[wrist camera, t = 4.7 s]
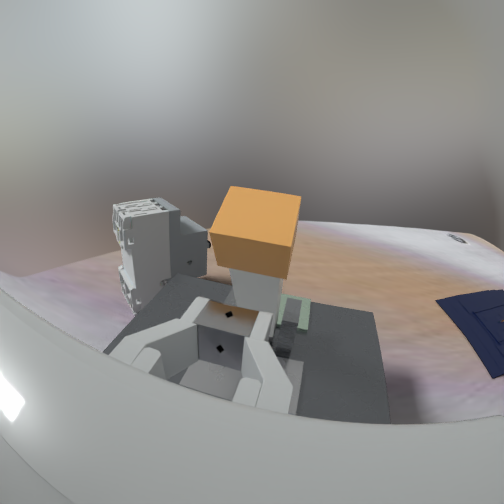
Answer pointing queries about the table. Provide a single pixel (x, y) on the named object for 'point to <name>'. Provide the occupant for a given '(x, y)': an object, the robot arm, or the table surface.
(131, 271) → the circuit breaker
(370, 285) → the table surface
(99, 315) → the table surface
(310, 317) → the box
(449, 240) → the table surface
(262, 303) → the lever
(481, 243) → the table surface
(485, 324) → the dark blue panel
